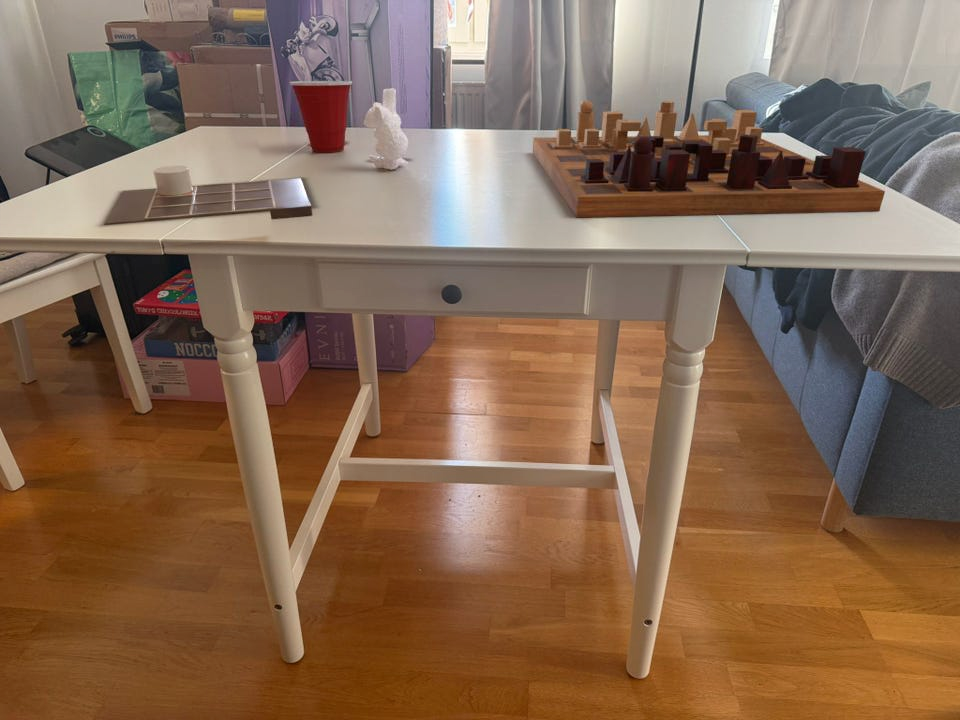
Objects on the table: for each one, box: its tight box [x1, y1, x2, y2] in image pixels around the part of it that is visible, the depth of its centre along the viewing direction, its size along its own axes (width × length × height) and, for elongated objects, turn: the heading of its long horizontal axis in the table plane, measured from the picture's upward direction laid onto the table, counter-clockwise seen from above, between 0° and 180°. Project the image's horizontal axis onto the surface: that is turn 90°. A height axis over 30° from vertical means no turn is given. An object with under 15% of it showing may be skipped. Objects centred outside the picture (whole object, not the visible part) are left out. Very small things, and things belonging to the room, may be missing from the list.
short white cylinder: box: [153, 165, 193, 195], centre depth 91 cm, size 4×4×3 cm
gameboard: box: [532, 100, 886, 218], centre depth 102 cm, size 40×40×9 cm
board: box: [103, 177, 313, 226], centre depth 89 cm, size 24×16×1 cm, turn 108°
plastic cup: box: [289, 80, 353, 154], centre depth 121 cm, size 11×11×12 cm
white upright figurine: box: [362, 87, 409, 171], centre depth 108 cm, size 8×7×12 cm
